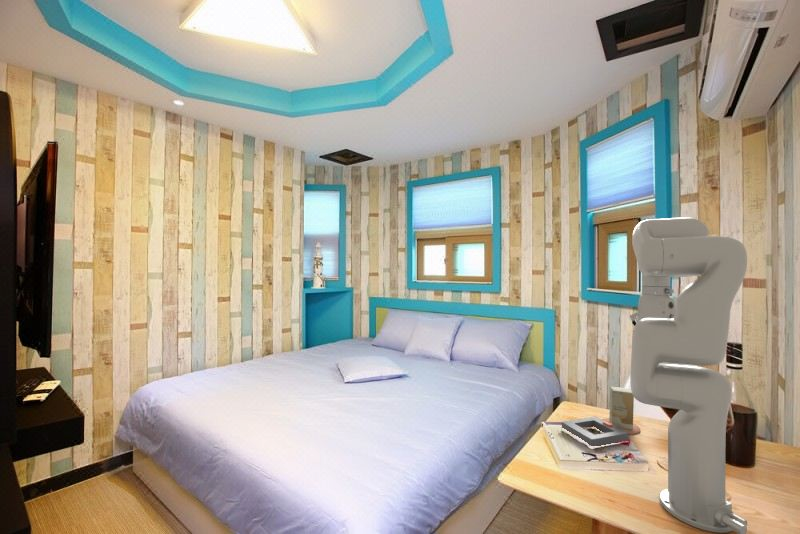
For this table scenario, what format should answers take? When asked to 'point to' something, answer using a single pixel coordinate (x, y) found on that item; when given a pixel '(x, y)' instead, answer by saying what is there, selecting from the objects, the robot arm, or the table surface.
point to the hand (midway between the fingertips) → (655, 344)
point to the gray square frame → (608, 437)
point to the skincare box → (621, 407)
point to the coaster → (631, 432)
